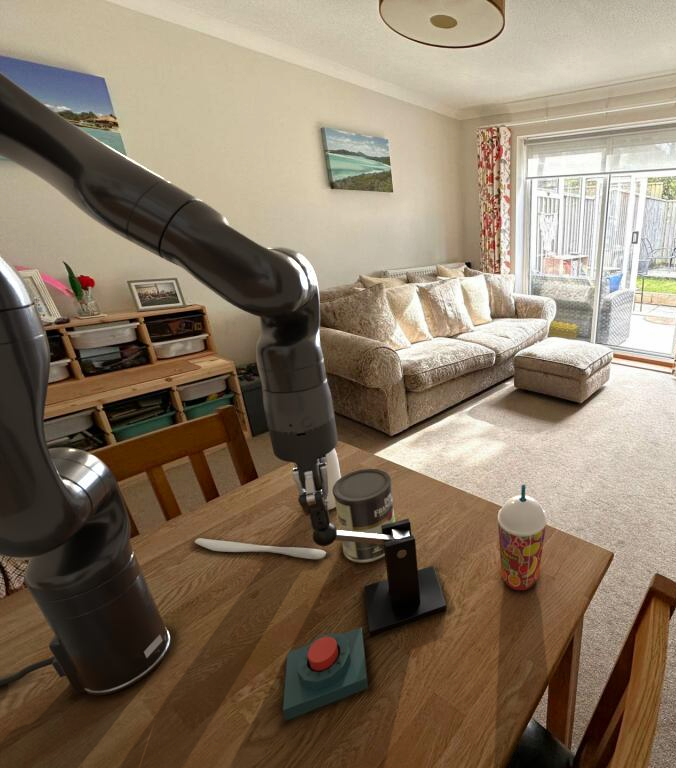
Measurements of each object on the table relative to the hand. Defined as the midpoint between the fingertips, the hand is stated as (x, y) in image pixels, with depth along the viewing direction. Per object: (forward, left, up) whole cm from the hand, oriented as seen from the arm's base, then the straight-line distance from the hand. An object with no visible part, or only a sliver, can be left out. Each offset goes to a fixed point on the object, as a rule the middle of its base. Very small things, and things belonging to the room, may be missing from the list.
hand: (321, 525), depth 57 cm
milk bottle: (-2, +33, -20) cm, 38 cm away
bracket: (+10, 0, -19) cm, 22 cm away
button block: (-2, -8, -19) cm, 21 cm away
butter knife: (-14, +22, -19) cm, 32 cm away
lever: (+4, 0, -5) cm, 7 cm away
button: (-2, -8, -16) cm, 18 cm away
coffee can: (+6, +16, -20) cm, 26 cm away
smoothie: (+30, -3, -20) cm, 36 cm away
